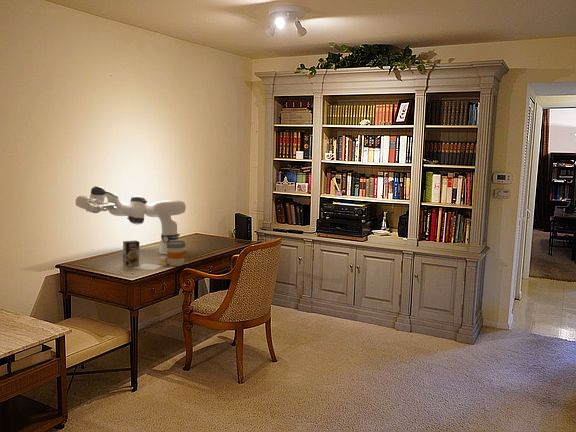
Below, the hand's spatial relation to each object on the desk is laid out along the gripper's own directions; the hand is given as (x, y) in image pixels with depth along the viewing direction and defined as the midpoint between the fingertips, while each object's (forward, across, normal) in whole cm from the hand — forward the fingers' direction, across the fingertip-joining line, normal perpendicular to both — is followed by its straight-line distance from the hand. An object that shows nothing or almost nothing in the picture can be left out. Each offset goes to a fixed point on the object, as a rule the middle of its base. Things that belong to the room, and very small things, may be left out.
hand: (111, 209), depth 350 cm
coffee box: (+23, +2, -33) cm, 40 cm away
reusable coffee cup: (+46, -16, -30) cm, 57 cm away
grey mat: (+35, 0, -32) cm, 47 cm away
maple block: (+38, -11, -31) cm, 50 cm away
